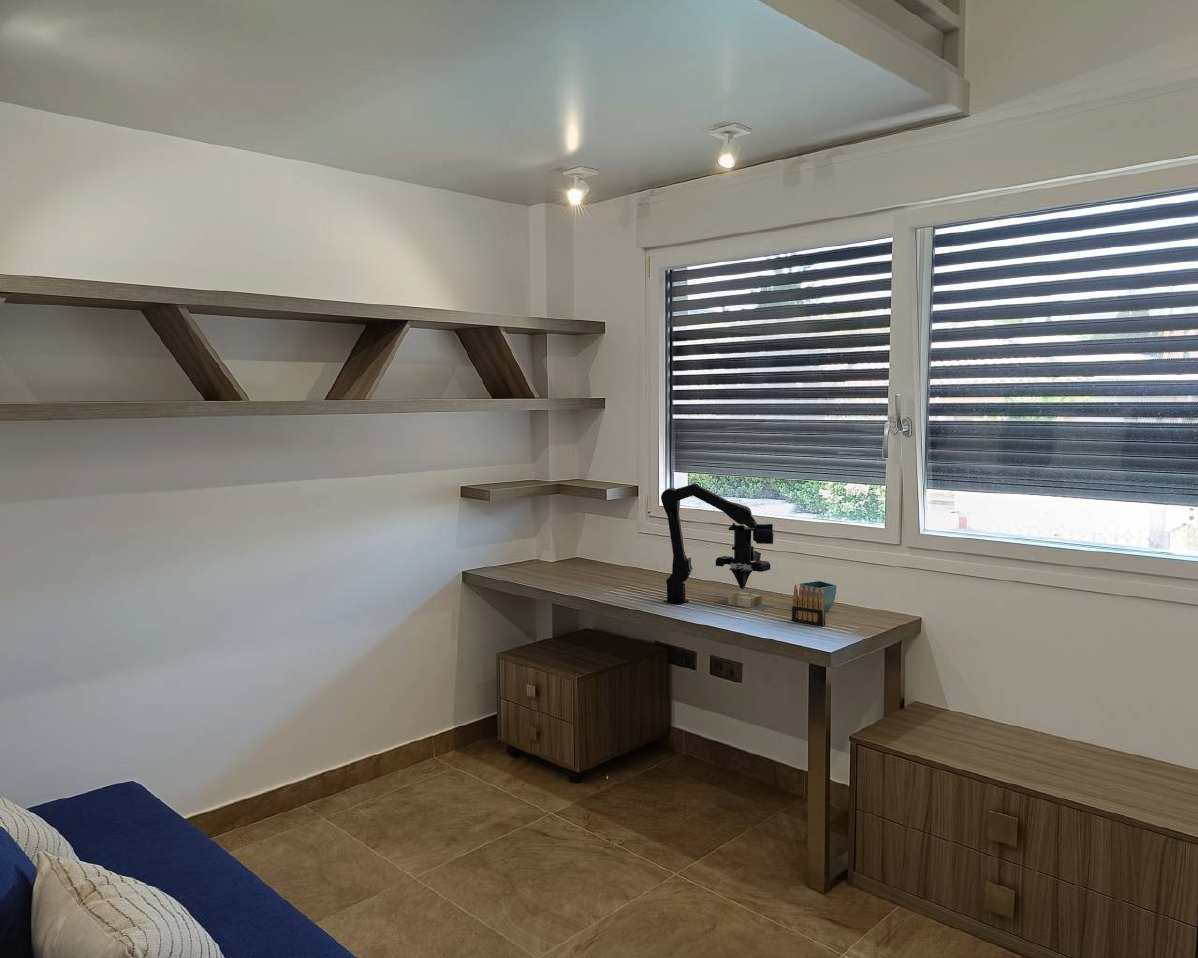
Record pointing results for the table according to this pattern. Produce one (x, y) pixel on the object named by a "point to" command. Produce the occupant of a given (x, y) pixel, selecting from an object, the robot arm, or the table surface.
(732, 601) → the slab
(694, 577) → the table surface
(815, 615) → the ammunition clip
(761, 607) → the mat
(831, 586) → the flower pot
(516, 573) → the table surface
